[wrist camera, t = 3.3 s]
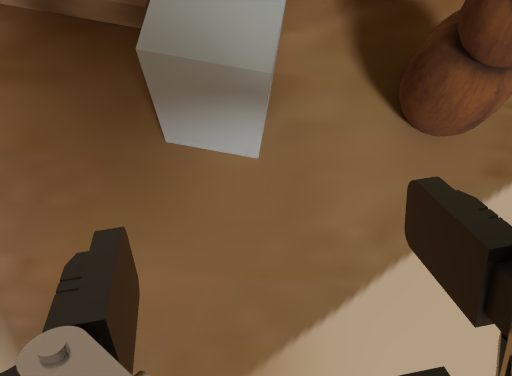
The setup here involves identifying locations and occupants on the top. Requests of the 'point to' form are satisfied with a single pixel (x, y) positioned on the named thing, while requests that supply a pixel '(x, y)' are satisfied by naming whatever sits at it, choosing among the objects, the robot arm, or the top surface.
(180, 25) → the block
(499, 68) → the wooden figurine
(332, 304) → the top surface
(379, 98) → the top surface
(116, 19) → the tower base
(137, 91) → the top surface
